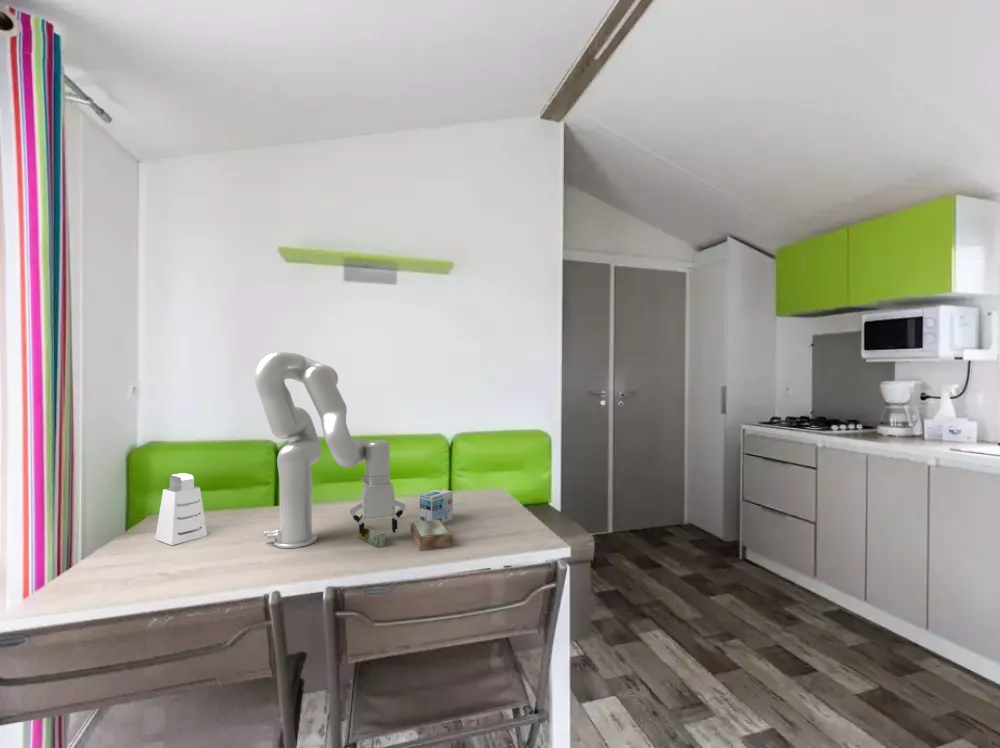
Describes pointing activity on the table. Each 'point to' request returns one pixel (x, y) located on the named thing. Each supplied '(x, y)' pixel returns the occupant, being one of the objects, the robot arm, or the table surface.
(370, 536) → the medication box
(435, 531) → the mirror with brown frame
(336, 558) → the table surface
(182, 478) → the grater
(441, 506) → the light bulb box
